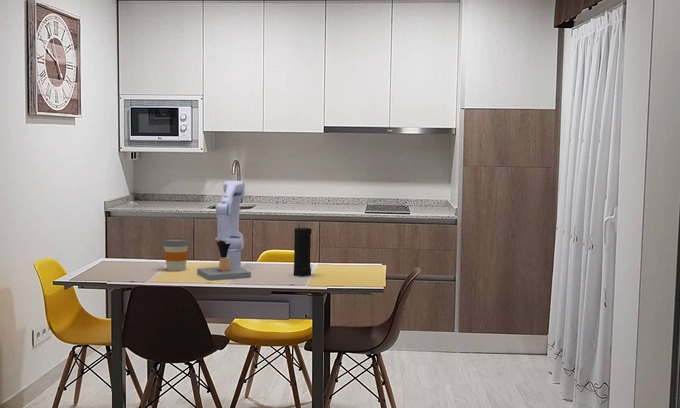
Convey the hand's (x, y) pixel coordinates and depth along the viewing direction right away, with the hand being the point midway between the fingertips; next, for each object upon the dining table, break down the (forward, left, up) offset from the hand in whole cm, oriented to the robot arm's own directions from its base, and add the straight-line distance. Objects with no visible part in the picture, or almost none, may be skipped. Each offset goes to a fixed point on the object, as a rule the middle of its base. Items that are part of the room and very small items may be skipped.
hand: (223, 257), depth 379 cm
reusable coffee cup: (-26, -16, -9) cm, 32 cm away
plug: (0, +1, -9) cm, 9 cm away
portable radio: (+14, +35, -9) cm, 39 cm away
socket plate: (0, 0, -9) cm, 9 cm away
